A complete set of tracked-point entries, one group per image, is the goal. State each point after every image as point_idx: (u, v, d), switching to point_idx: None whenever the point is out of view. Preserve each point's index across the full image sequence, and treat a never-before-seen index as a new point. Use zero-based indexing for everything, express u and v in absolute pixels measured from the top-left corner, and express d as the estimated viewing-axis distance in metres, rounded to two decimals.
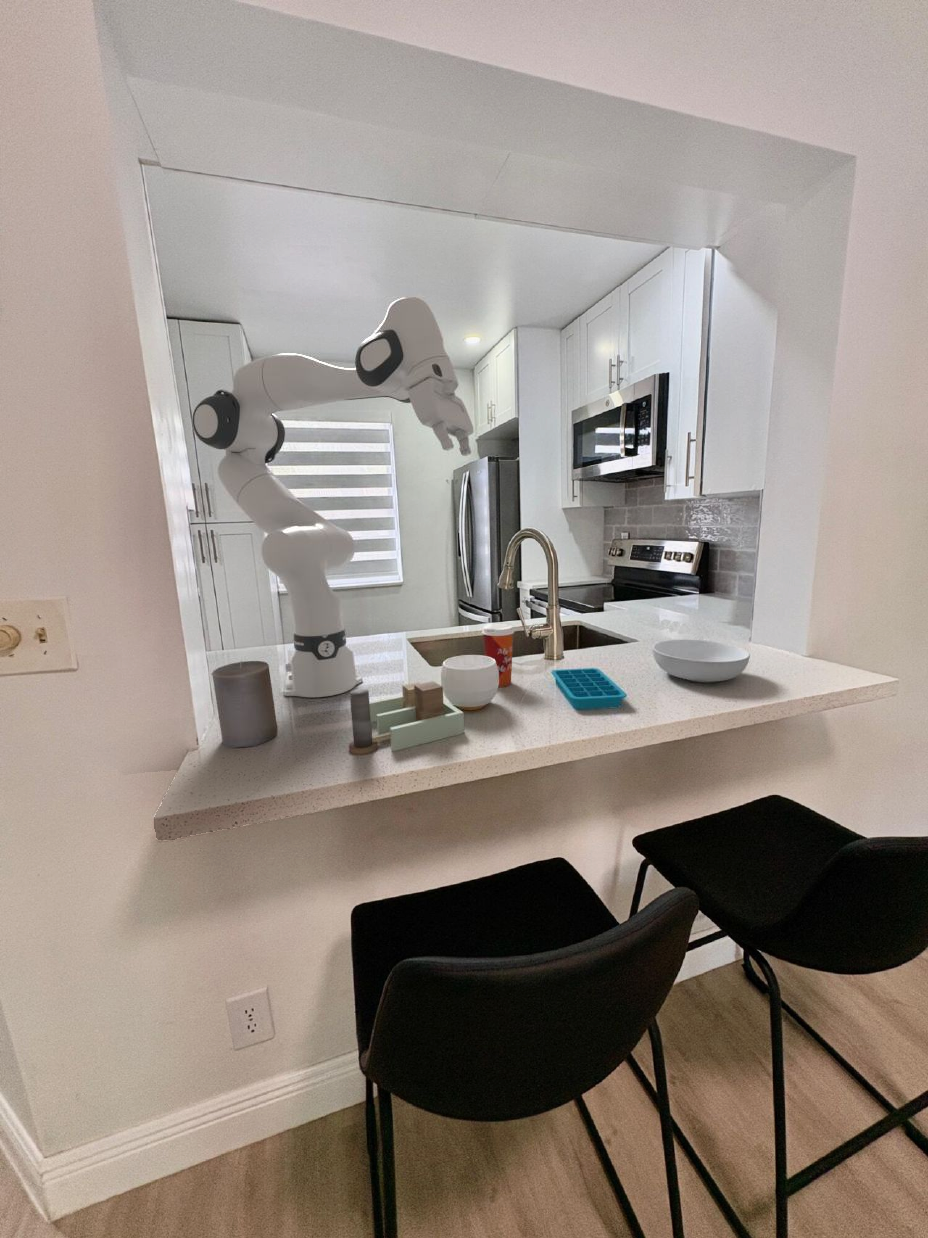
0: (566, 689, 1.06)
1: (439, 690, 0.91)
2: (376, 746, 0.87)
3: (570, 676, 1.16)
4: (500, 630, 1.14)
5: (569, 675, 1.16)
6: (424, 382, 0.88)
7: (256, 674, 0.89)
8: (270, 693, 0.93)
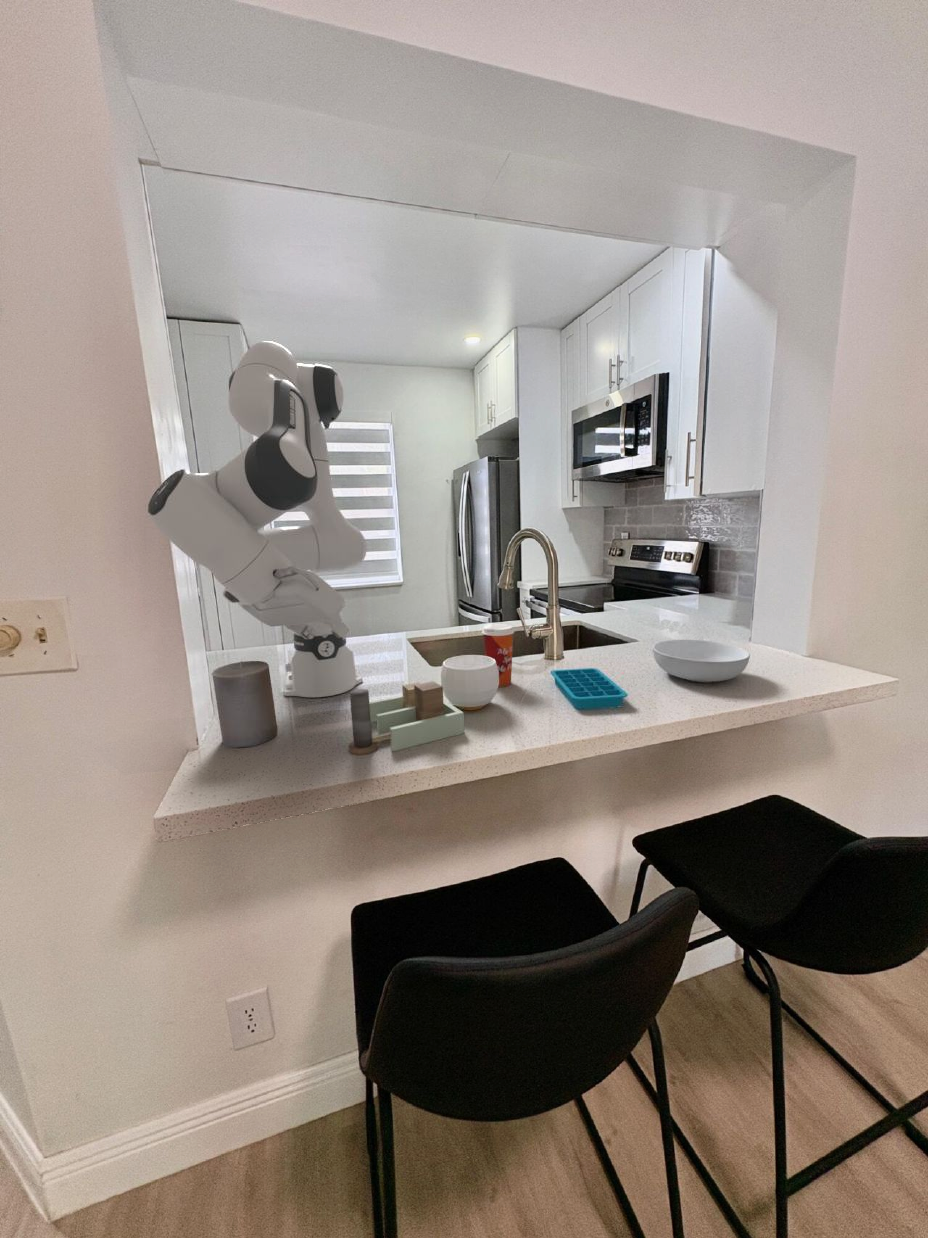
0: (567, 689, 1.06)
1: (439, 690, 0.91)
2: (376, 746, 0.87)
3: (569, 676, 1.16)
4: (500, 630, 1.14)
5: (568, 675, 1.16)
6: None
7: (256, 674, 0.89)
8: (270, 693, 0.93)
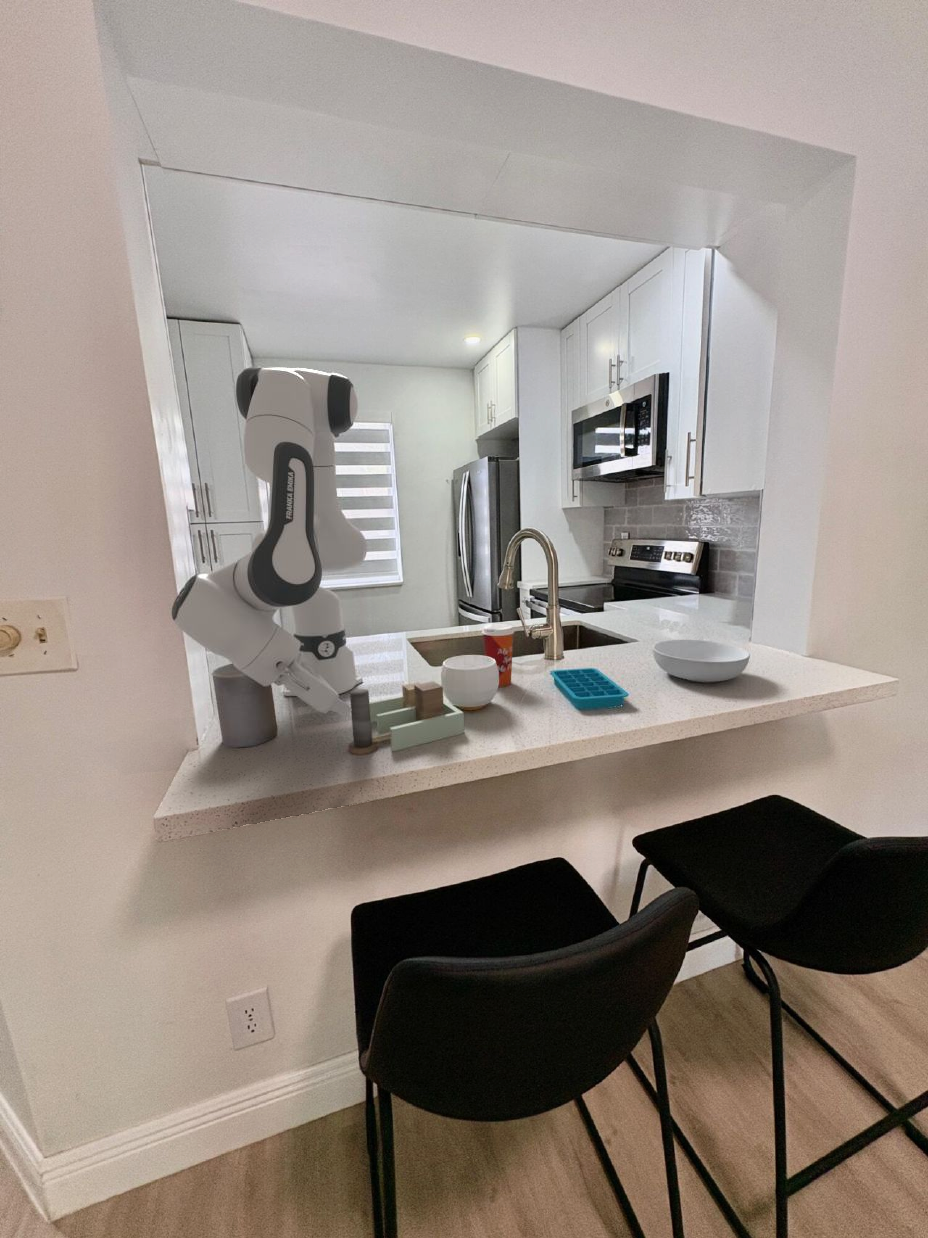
0: (567, 689, 1.06)
1: (439, 690, 0.91)
2: (376, 746, 0.87)
3: (569, 676, 1.16)
4: (500, 630, 1.14)
5: (568, 675, 1.16)
6: None
7: None
8: (270, 693, 0.93)
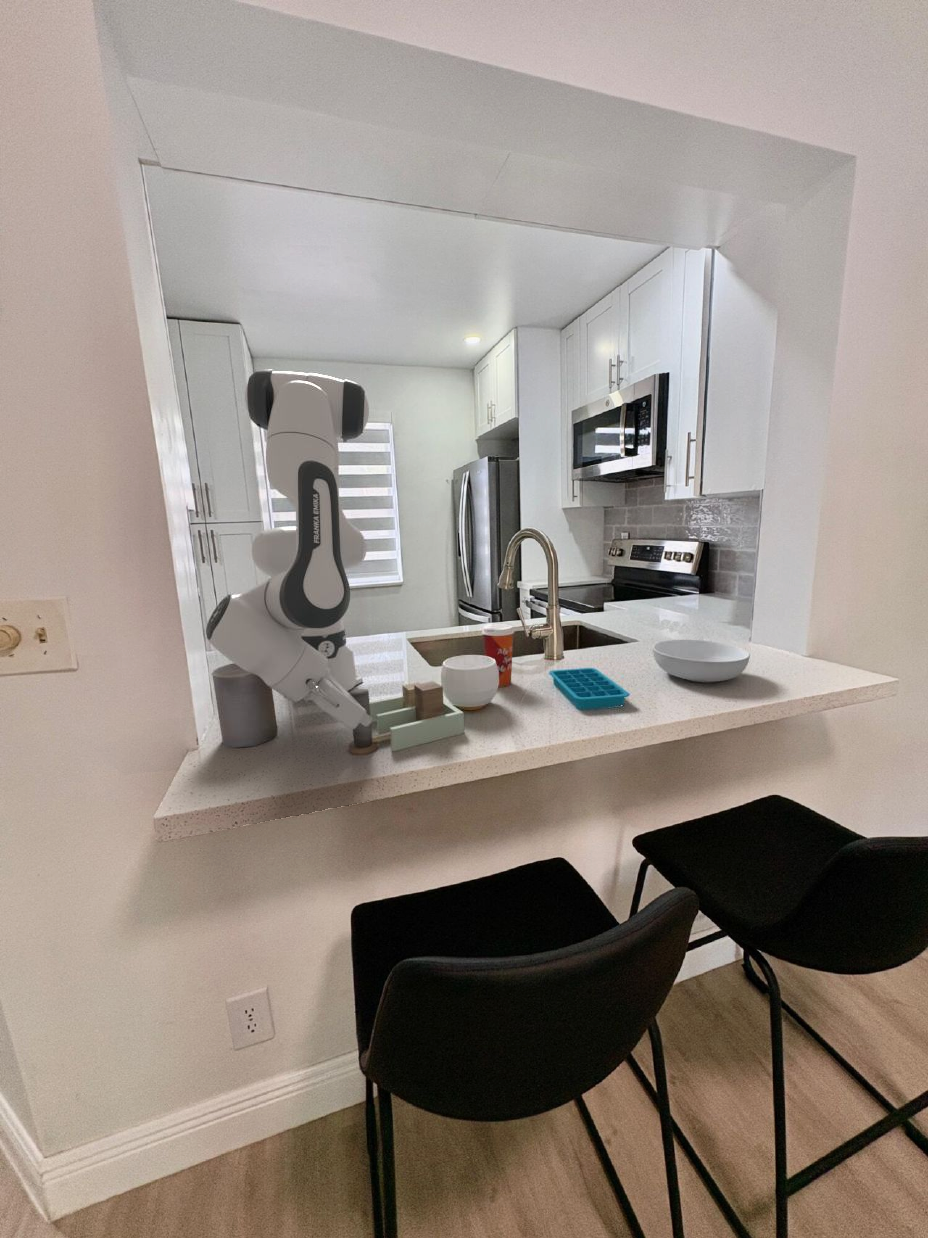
0: (568, 690, 1.05)
1: (439, 690, 0.91)
2: (376, 746, 0.87)
3: (568, 676, 1.16)
4: (500, 630, 1.14)
5: (567, 675, 1.16)
6: None
7: None
8: (270, 693, 0.93)
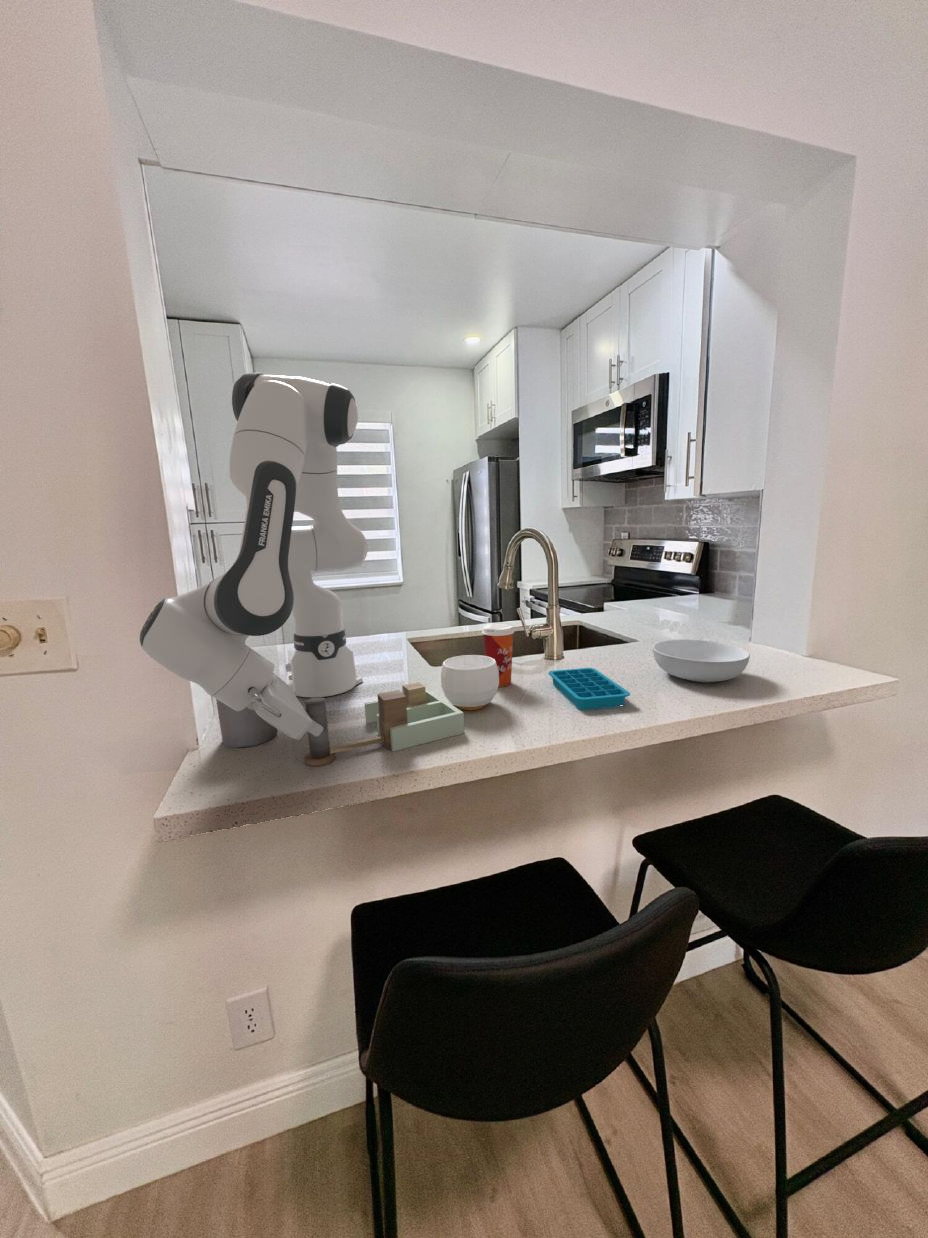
0: (569, 690, 1.05)
1: (402, 699, 0.86)
2: (333, 757, 0.83)
3: (568, 676, 1.16)
4: (500, 630, 1.14)
5: (567, 676, 1.16)
6: None
7: None
8: None
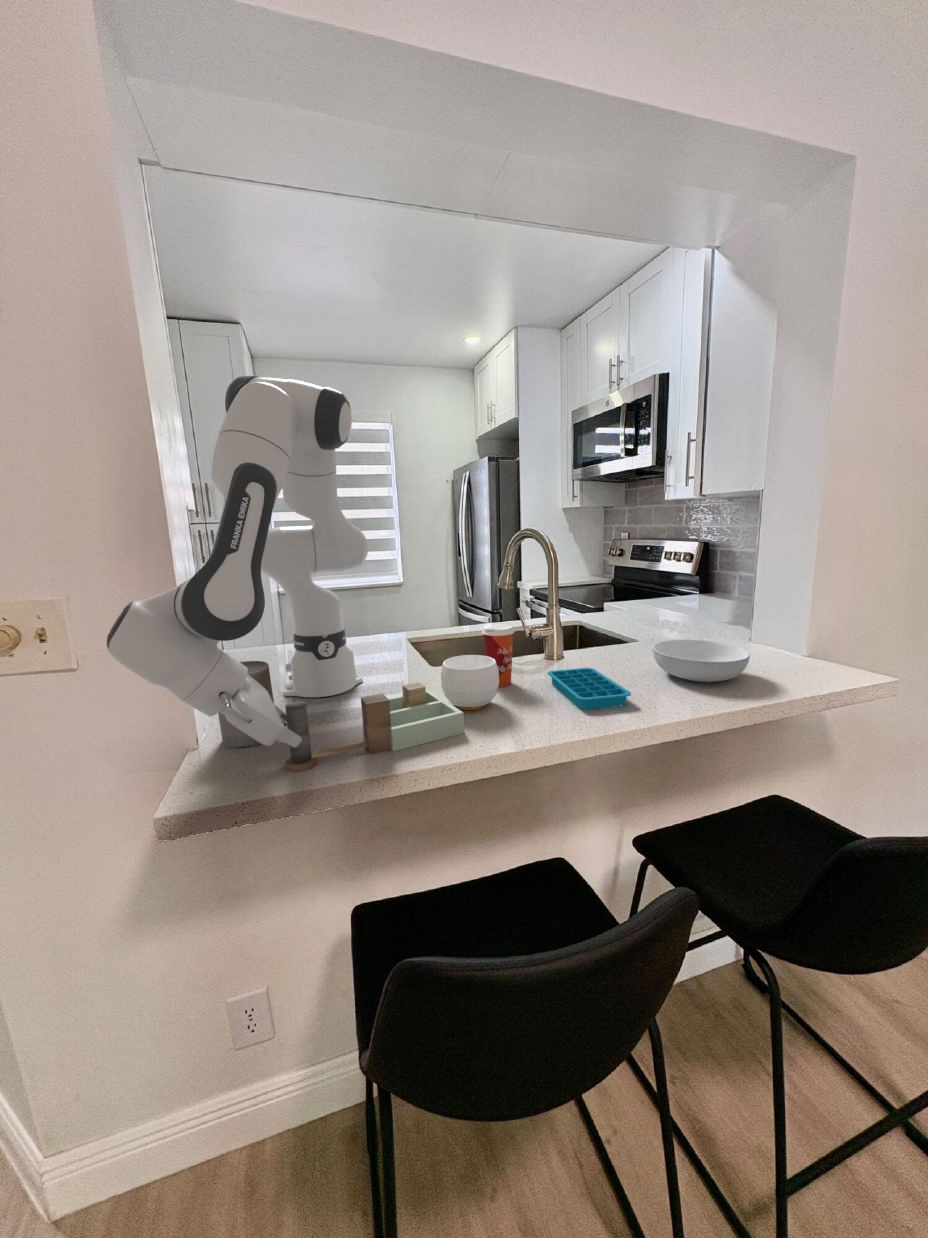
0: (570, 690, 1.05)
1: (385, 703, 0.85)
2: (314, 762, 0.82)
3: (567, 677, 1.16)
4: (500, 630, 1.14)
5: (566, 676, 1.16)
6: None
7: (256, 674, 0.89)
8: (270, 693, 0.93)
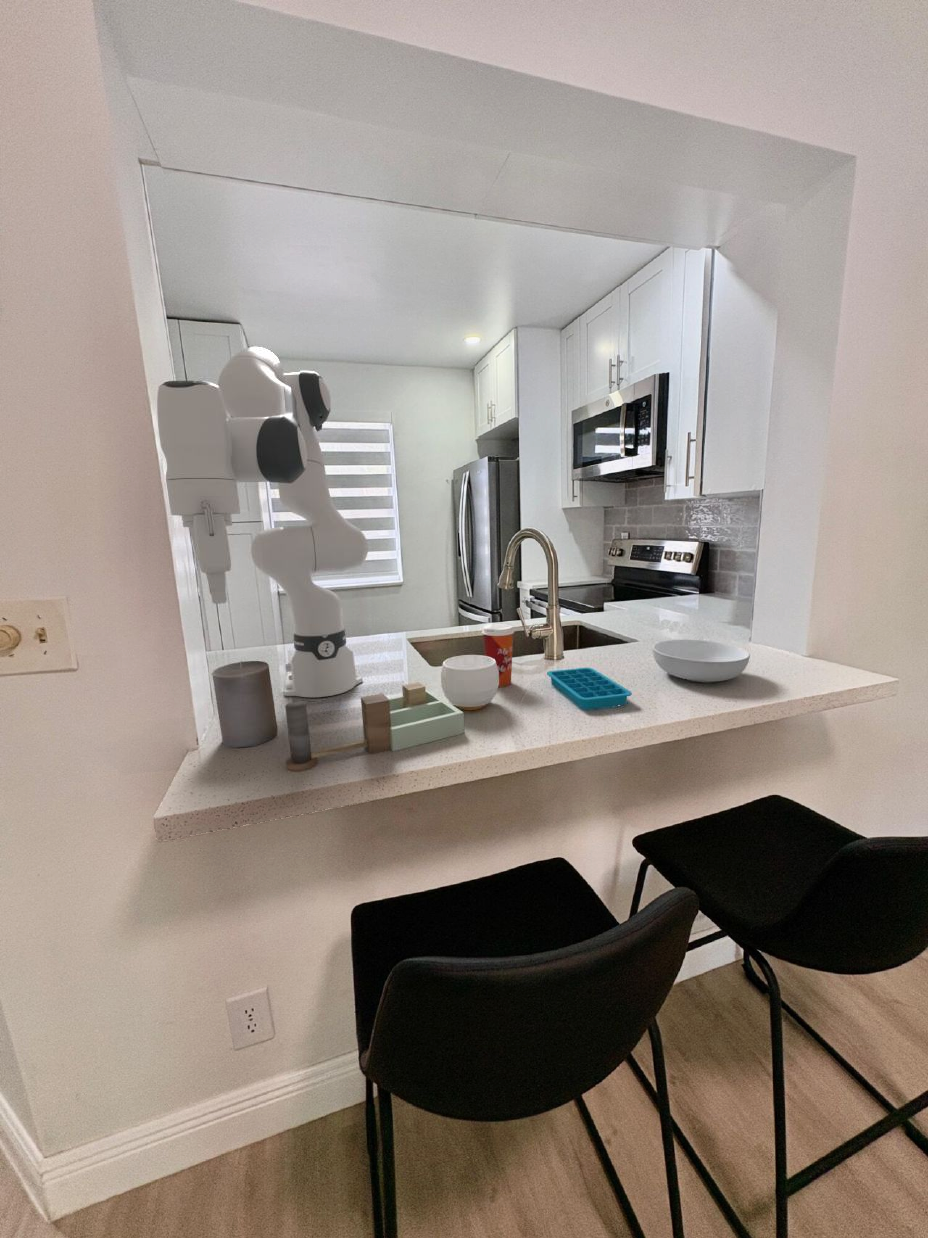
0: (571, 690, 1.05)
1: (385, 703, 0.85)
2: (314, 762, 0.82)
3: (567, 677, 1.16)
4: (500, 630, 1.14)
5: (566, 676, 1.16)
6: None
7: (256, 674, 0.89)
8: (270, 693, 0.93)
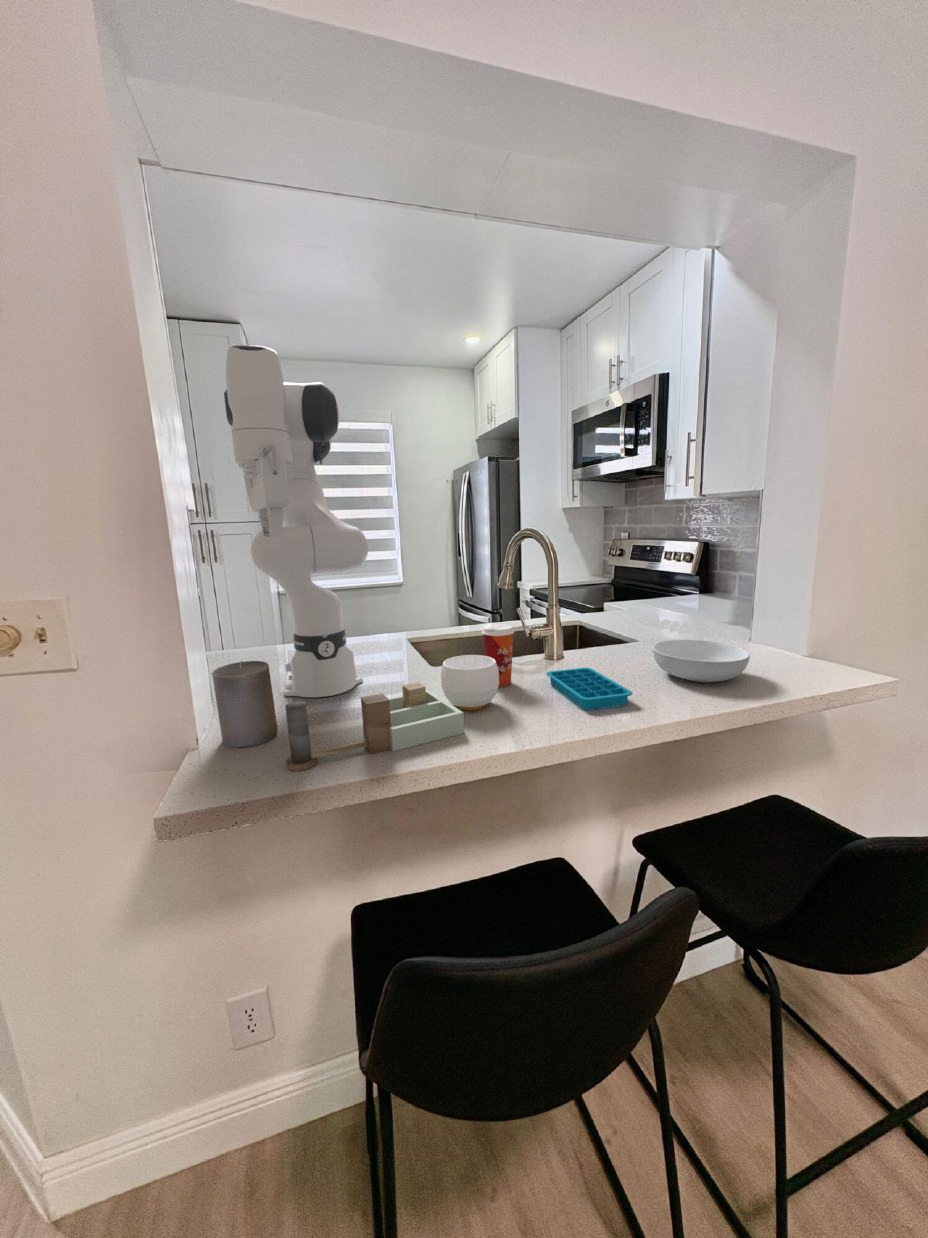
0: (572, 690, 1.05)
1: (385, 703, 0.85)
2: (314, 762, 0.82)
3: (566, 677, 1.16)
4: (500, 630, 1.14)
5: (565, 676, 1.16)
6: None
7: (256, 674, 0.89)
8: (270, 693, 0.93)
